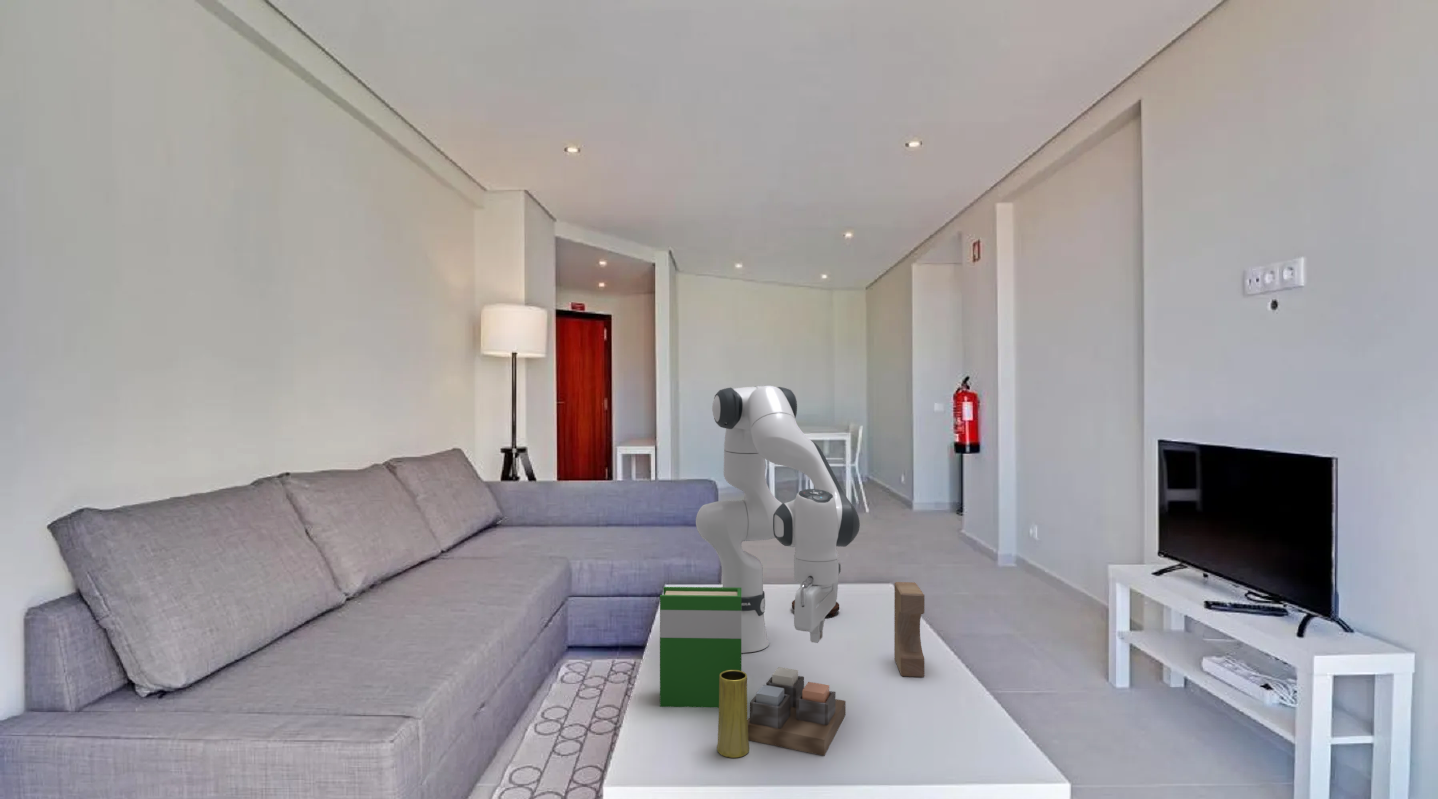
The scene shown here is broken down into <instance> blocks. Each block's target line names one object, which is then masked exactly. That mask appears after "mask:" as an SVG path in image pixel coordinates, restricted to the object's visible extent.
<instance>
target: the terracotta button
mask: <svg viewBox="0 0 1438 799" xmlns="http://www.w3.org/2000/svg"><path fill="white" fill-rule="evenodd" d="M829 691H830V685H829V684H823V683H819V682H810V681H808V682H807V683H806V684H805V685H804V689H803V690H802V699H805V700H811V701H816V702H822V703H826V702H827V700H828V698H829Z"/></svg>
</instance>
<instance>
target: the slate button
mask: <svg viewBox="0 0 1438 799" xmlns="http://www.w3.org/2000/svg"><path fill="white" fill-rule="evenodd" d="M755 696H756V702H757V703H762V704H768V705H773V706H780V704H781V703H782V702H783V700H784V688H779V687H774V686H768V685H766V684H763V685H762V686H761V687H760V688H759V689H758V691H757V692H756V694H755Z"/></svg>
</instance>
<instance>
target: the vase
mask: <svg viewBox="0 0 1438 799" xmlns="http://www.w3.org/2000/svg"><path fill="white" fill-rule="evenodd" d="M717 724H718V725H717V727H718V728H717V745H716V750H717V752H718V753H719V754H720V755H721V756H723V757H726V758H729V759H730V758H731V759H736V758H737V759H738V758H742V757H744V756H746V755H747V754H748V753H749V751H750V740H748V675H747V673H746V672H744V671H742V670H741V671H739V670H727V671H723V672H721V673H720V676H719V708H718V723H717Z"/></svg>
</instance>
